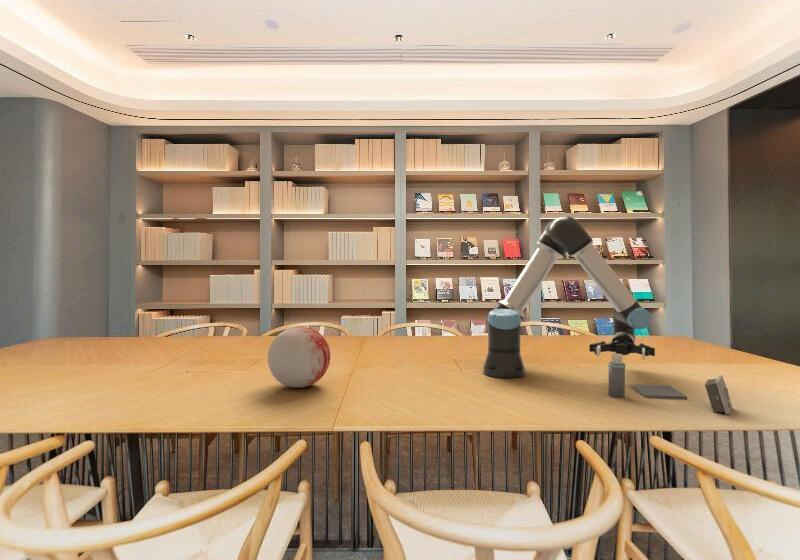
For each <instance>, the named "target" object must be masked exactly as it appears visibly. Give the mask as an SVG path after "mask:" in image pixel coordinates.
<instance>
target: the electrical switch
mask: <svg viewBox="0 0 800 560" xmlns="http://www.w3.org/2000/svg"><path fill="white" fill-rule="evenodd" d="M704 386H705V389H706V393H707V396H708V400H709V402H710V407H711V409H712V413H725V416H728V415H731V412H732V409H733V404H732V402H731V398H730V397H731V396H730V393H729V388H727V385H726V381H725V379H724V376H723V375H720V374H719V375H718V376H717V378H710V379H707V380H706V382H705V384H704Z"/></svg>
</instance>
